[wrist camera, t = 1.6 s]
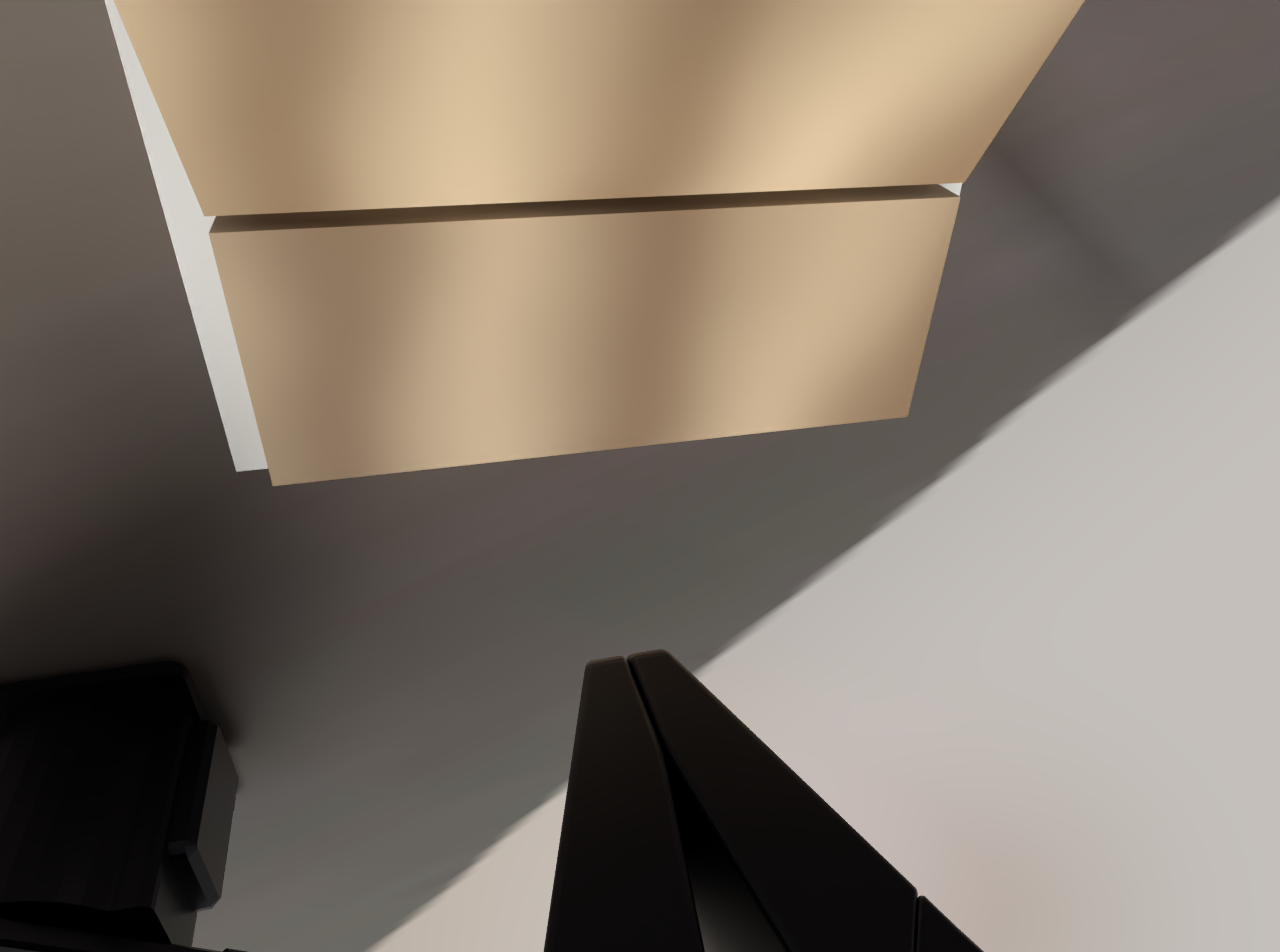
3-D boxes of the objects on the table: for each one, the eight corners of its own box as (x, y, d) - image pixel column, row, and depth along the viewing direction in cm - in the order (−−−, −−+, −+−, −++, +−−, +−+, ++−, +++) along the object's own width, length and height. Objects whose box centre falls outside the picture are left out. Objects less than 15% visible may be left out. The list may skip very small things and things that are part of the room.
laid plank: (278, 448, 20) (272, 485, 19) (220, 206, 17) (208, 232, 15) (879, 387, 23) (907, 416, 22) (925, 176, 20) (960, 196, 19)
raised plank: (204, 152, 16) (204, 216, 15) (58, -227, 11) (49, -151, 10) (940, 130, 19) (964, 182, 19) (1113, -166, 14) (1155, -107, 13)
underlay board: (241, 448, 21) (235, 472, 20) (22, -363, 13) (-2, -378, 12) (892, 383, 24) (909, 400, 24) (1040, -274, 16) (1074, -280, 16)
